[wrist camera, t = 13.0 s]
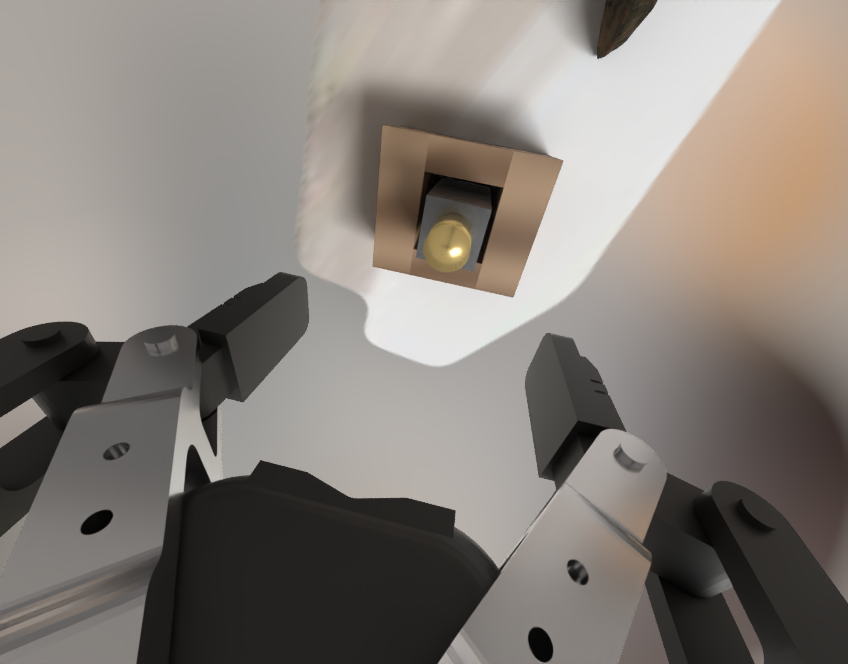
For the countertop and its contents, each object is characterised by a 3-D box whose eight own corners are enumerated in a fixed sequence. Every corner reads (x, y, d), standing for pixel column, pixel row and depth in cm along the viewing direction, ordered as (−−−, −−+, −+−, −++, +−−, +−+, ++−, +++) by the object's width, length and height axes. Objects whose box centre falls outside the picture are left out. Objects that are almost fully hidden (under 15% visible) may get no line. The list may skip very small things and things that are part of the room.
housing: (399, 126, 24) (382, 124, 20) (549, 155, 24) (563, 160, 20) (388, 248, 30) (372, 266, 26) (509, 274, 29) (513, 297, 25)
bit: (443, 176, 26) (417, 204, 16) (489, 187, 26) (492, 222, 16) (434, 224, 28) (406, 274, 18) (476, 234, 28) (472, 290, 18)
